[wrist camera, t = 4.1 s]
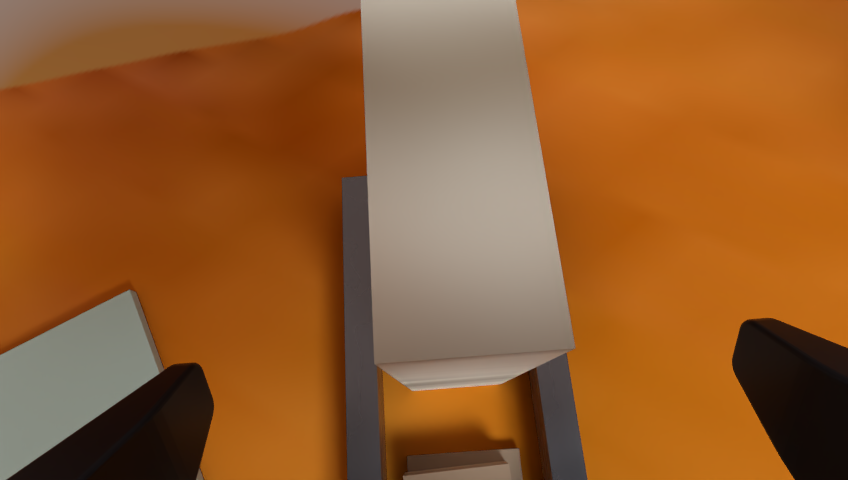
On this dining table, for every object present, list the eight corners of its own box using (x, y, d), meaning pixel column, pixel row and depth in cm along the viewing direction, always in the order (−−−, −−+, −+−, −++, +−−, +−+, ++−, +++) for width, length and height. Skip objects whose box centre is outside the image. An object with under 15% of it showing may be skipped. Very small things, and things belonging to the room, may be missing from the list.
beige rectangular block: (500, 384, 17) (575, 348, 7) (412, 390, 17) (373, 364, 7) (478, 196, 19) (513, -15, 10) (401, 202, 19) (360, -2, 10)
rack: (623, 785, 13) (645, 829, 12) (363, 802, 13) (354, 848, 12) (527, 180, 19) (534, 162, 18) (349, 195, 19) (341, 177, 18)
